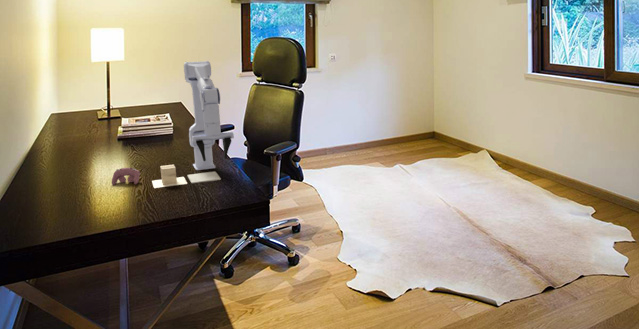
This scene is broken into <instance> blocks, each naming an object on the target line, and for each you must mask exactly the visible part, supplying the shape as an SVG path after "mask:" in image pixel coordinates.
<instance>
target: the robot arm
mask: <svg viewBox="0 0 639 329" xmlns="http://www.w3.org/2000/svg"><path fill="white" fill-rule="evenodd" d="M183 72H184V80H185V82H186V83H189V85H190V86H191V92H192V93H191V94H192V103H193V116H194V123H193V124H192V125H191V126H190V127H189V129H188V139H189V145H190V147H193V154H194V163H192V166H193V168H194V169H195V170H196V171H201V170H209V169H210V170H211V169H216V165H215V164H214V162H213V161H214V160H213V149H212V148H213V145H215V142H216V140H222V146H223V147H222V148H223V158H224V160H226V159H227V158H228V152H229V148H230V146H231V144H232V140H233V139H234V138H235V137H234V132H233V131H231V132H221V129H222V128H221V116H220V114H221V113H220V104H221V93H220V90H219V88H218V87H215V84H214V82H213V80H212V79H211V76H212V66H211V62H210V61H209V60H204V61H203V60H202V61H201V60H200V61H185V62H184V63H183Z"/></svg>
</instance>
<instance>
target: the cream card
mask: <svg viewBox="0 0 639 329" xmlns="http://www.w3.org/2000/svg"><path fill="white" fill-rule="evenodd" d="M176 178H177V183H173V184H166V185H163V183H162V179H155V180H151V183H152V186H153V188H154V189H159V188H165V187H173V186H179V185H180V186H181V185H187V184H188V182H187V180H186V178H185V177H184V176H180V177H176Z"/></svg>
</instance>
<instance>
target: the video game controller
mask: <svg viewBox="0 0 639 329" xmlns="http://www.w3.org/2000/svg"><path fill="white" fill-rule="evenodd" d="M140 173H141V171H139V170H138V169H136V168H133V167H122V168H117V169H116V170H115V171H114V172H113V174H112V178H111V185H112V186H115V185H116V184H117V183H118V181H119V183H121V184H123V183H126V182H128V183H131V184H132V183H134V185H138V183H139V180H140V175H141V174H140ZM126 176H128V177H127V178H126Z"/></svg>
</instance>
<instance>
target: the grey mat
mask: <svg viewBox="0 0 639 329" xmlns="http://www.w3.org/2000/svg"><path fill="white" fill-rule="evenodd" d="M186 177H187V178H188V180H189V181H190V183H191V184H200V183H206V182H214V181H220V180H222V178H221V177H220V175H219V174H218V173H217V172H216V171H208V172H201V173H200V172H199V173H192V174H187V176H186Z"/></svg>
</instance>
